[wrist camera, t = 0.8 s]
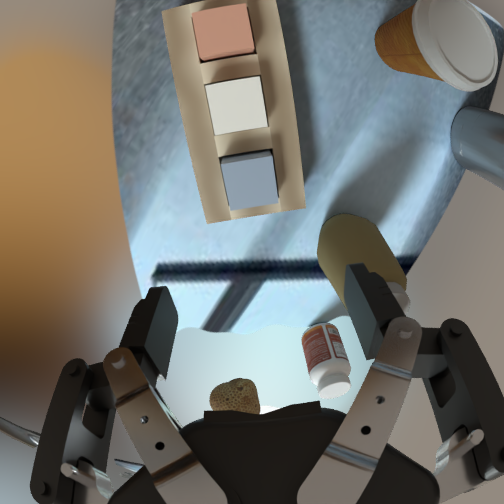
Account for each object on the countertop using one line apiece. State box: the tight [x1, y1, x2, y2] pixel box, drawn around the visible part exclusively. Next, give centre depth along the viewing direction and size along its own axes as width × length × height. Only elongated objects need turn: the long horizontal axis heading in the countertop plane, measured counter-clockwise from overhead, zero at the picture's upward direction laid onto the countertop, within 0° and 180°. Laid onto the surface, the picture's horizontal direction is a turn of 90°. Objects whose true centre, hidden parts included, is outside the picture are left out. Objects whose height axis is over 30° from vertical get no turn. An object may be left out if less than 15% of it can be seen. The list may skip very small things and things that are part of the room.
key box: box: [162, 0, 306, 224], centre depth 24 cm, size 10×22×4 cm, turn 9°
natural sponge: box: [210, 378, 260, 414], centre depth 45 cm, size 9×9×10 cm
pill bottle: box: [302, 323, 351, 399], centre depth 39 cm, size 6×6×11 cm
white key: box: [205, 76, 268, 135], centre depth 22 cm, size 4×4×3 cm
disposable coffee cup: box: [375, 0, 498, 91], centre depth 16 cm, size 10×10×12 cm
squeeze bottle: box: [317, 213, 410, 315], centre depth 26 cm, size 8×8×18 cm
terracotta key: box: [192, 3, 254, 62], centre depth 18 cm, size 4×4×3 cm
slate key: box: [221, 149, 279, 211], centre depth 26 cm, size 4×4×3 cm
